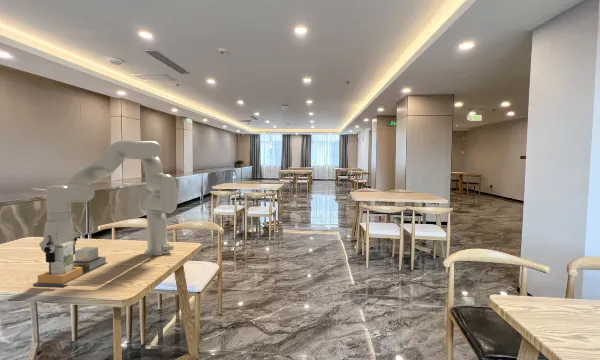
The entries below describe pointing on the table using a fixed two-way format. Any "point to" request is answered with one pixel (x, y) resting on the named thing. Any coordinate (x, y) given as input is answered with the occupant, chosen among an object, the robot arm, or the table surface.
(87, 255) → the block
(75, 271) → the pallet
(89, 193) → the robot arm
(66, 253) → the syrup box
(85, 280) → the table surface
